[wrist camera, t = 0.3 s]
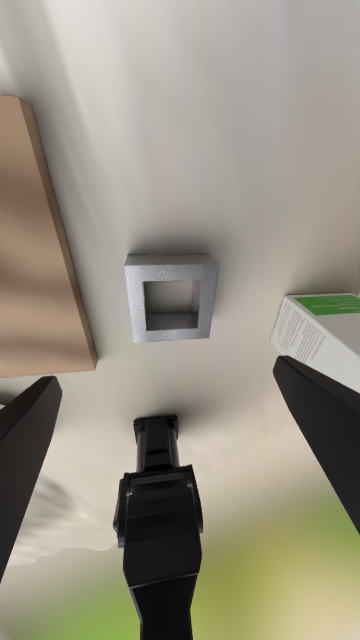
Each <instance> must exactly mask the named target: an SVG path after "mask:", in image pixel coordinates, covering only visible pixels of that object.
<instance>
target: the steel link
mask: <svg viewBox="0 0 360 640" xmlns="http://www.w3.org/2000/svg"><path fill="white" fill-rule="evenodd" d="M218 267H219V264H218V263H217V262H216V261H215V260H214V259H213V258H212V257H211V256H210V255H209V254H177V255H127V258H126V261H125V265H124V269H125V277H126V285H127V293H128V301H129V309H130V318H131V326H132V334H133V342H134V343H139V342H154V341H170V340H185V339H201V338H209V335H210V328H211V320H212V313H213V305H214V297H215V290H216V282H217V274H218ZM176 280H194V282H193V297H192V312H176V313H154V314H146V302H145V288H144V281H176Z"/></svg>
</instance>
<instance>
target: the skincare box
mask: <svg viewBox="0 0 360 640" xmlns="http://www.w3.org/2000/svg"><path fill="white" fill-rule="evenodd" d="M270 341H271V342H272V344H273V345H274V346H275V348H276V349H277V350H278V351H279V353H280V354H281V355H282V356H283V355H288V356H291V357H293V358H294V359H296V360H298V361H300V362H302V363H304V364H306V365H308V366H309V367H311V368H313V369H315V370H317V371H319V372H321V373H323V374H325V375H326V376H328V377H330V378H332V379H334V380H336V381H338V382H340V383H341V384H343V385H345V386H347V387H349V388H351V389H353V390H355V391H357V392H358V393H360V297H359V296H357V295H355V294H353V293H330V294H310V295H286V296H285V297H284V299H283V302H282V306H281V309H280V312H279V315H278V318H277V321H276V324H275V327H274V330H273V333H272V336H271V339H270Z"/></svg>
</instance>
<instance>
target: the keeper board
mask: <svg viewBox="0 0 360 640" xmlns="http://www.w3.org/2000/svg"><path fill="white" fill-rule="evenodd" d="M97 361H98V359H97V355H96V351H95V348H94V344H93V340H92V336H91V332H90V328H89V324H88V321H87V317H86V313H85V309H84V305H83V301H82V298H81V294H80V290H79V286H78V282H77V278H76V274H75V271H74V267H73V263H72V259H71V255H70V251H69V248H68V244H67V240H66V236H65V232H64V228H63V224H62V221H61V217H60V213H59V209H58V205H57V201H56V198H55V194H54V190H53V186H52V182H51V178H50V174H49V171H48V167H47V163H46V159H45V155H44V151H43V148H42V144H41V140H40V136H39V132H38V128H37V124H36V121H35V117H34V113H33V109H32V107H31V106H30V105H29V104H27V103H26V102H25V101H23V100H22V99H21V98H19V97H18V96H7V95H0V378H6V377H18V376H31V375H43V374H55V373H68V372H80V371H93V370H95V368H96V365H97Z"/></svg>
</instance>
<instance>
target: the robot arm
mask: <svg viewBox="0 0 360 640" xmlns="http://www.w3.org/2000/svg"><path fill="white" fill-rule="evenodd" d="M273 375H274V377H275V379H276V382H277V384H278V386H279V388H280V391H281V393H282V395H283V398H284V400H285V402H286V404H287V406H288V408H289V410H290V412H291V414H292V416H293V417H294V419H295V421H296V423H297V425H298V426H299V428H300V430H301V432H302V433H303V435H304V437H305V439H306V440H307V442H308V444H309V446H310V448H311V449H312V451H313V453H314V455H315V456H316V458H317V460H318V462H319V463H320V465H321V467H322V469H323V471H324V472H325V474H326V476H327V478H328V480H329V481H330V483H331V485H332V487H333V488H334V490H335V492H336V494H337V496H338V497H339V499H340V501H341V503H342V504H343V506H344V508H345V510H346V511H347V513H348V515H349V517H350V518H351V520H352V522H353V524H354V526H355V527H356V529H357V531H358V533H359V535H360V393H358V392H357V391H355V390H353V389H351V388H349V387H347V386H345V385H343V384H341V383H340V382H338V381H336V380H334V379H332V378H330V377H328V376H326V375H325V374H323V373H321V372H319V371H317V370H315V369H313V368H311V367H309V366H308V365H306V364H304V363H302V362H300V361H298V360H296V359H294V358H293V357H291V356H288V355H283V356H278V357H277V359H276V362H275V365H274V368H273ZM61 398H62V389H61V387H60V385H59V382H58V380H57V378H56V377H55V376H44V377H41V378H40V379H39V380H37V381H36V382H35V383H34V384H32V385H31V386H30V387H28V388H27V389H26V390H25V391H23V392H22V393H21V394H20V395H18V396H17V397H16V398H14V399H13V400H12V401H11V402H9V403H8V404H7V405H5V406H4V407H3V408H2V409H0V583H1V580H2V577H3V574H4V571H5V568H6V566H7V563H8V560H9V557H10V554H11V552H12V549H13V546H14V543H15V540H16V537H17V535H18V532H19V529H20V526H21V523H22V521H23V518H24V515H25V512H26V509H27V507H28V504H29V501H30V498H31V495H32V492H33V490H34V487H35V484H36V481H37V478H38V476H39V473H40V470H41V467H42V464H43V461H44V459H45V456H46V453H47V450H48V447H49V445H50V442H51V439H52V435H53V431H54V427H55V423H56V419H57V415H58V411H59V407H60V402H61ZM133 426H134V431H135V437H136V443H137V469H136V472H134V473H129V472H128V473H124V477H123V479H121V480H120V483H119V493H118V500H117V505H116V510H115V516H114V521H113V528H114V530H115V531H116V532H117V539H118V547H119V548H123V547H124V557H123V572H124V576H125V578H126V581H127V584H128V587H129V590H130V593H131V596H132V598H133V601H134V604H135V607H136V610H137V613H138V616H139V619H140V640H193V635H192V625H191V615H190V607H191V603H192V598H193V593H194V589H195V585H196V580H197V576H198V573H199V570H200V565H201V559H202V550H201V542H200V535H199V533H203V517H202V508H201V502H200V498H199V493H198V489H197V484H196V480H195V476H194V472H193V467H192V464H191V465H188V466H181V467H180V465H179V457H178V448H177V439H178V416H176V415H174V416H165V417H157V418H148V419H139V420H135V421H134V423H133ZM131 493H132V495H131Z"/></svg>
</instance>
